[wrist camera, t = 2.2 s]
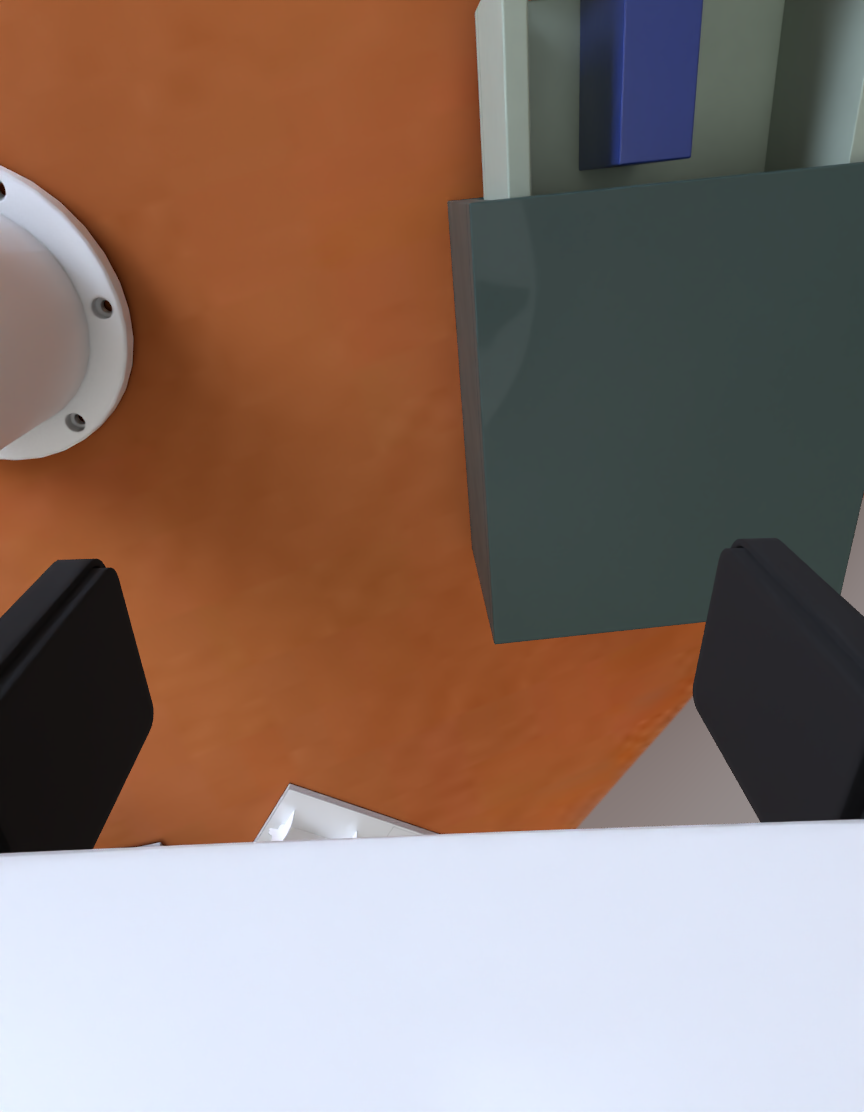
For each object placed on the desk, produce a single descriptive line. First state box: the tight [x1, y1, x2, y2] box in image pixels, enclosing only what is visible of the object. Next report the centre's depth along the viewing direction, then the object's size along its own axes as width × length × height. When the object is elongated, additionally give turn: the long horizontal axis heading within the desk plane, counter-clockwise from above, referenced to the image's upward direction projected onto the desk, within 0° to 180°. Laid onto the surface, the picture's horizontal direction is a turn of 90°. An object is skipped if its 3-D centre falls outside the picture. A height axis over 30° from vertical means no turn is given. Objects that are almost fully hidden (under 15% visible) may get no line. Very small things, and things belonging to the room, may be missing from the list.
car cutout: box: [254, 784, 437, 842], centre depth 46 cm, size 15×7×4 cm, turn 61°
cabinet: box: [448, 162, 864, 644], centre depth 29 cm, size 17×15×9 cm
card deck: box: [579, 0, 703, 171], centre depth 23 cm, size 6×2×5 cm, turn 5°
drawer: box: [475, 0, 864, 200], centre depth 23 cm, size 20×14×7 cm, turn 5°
